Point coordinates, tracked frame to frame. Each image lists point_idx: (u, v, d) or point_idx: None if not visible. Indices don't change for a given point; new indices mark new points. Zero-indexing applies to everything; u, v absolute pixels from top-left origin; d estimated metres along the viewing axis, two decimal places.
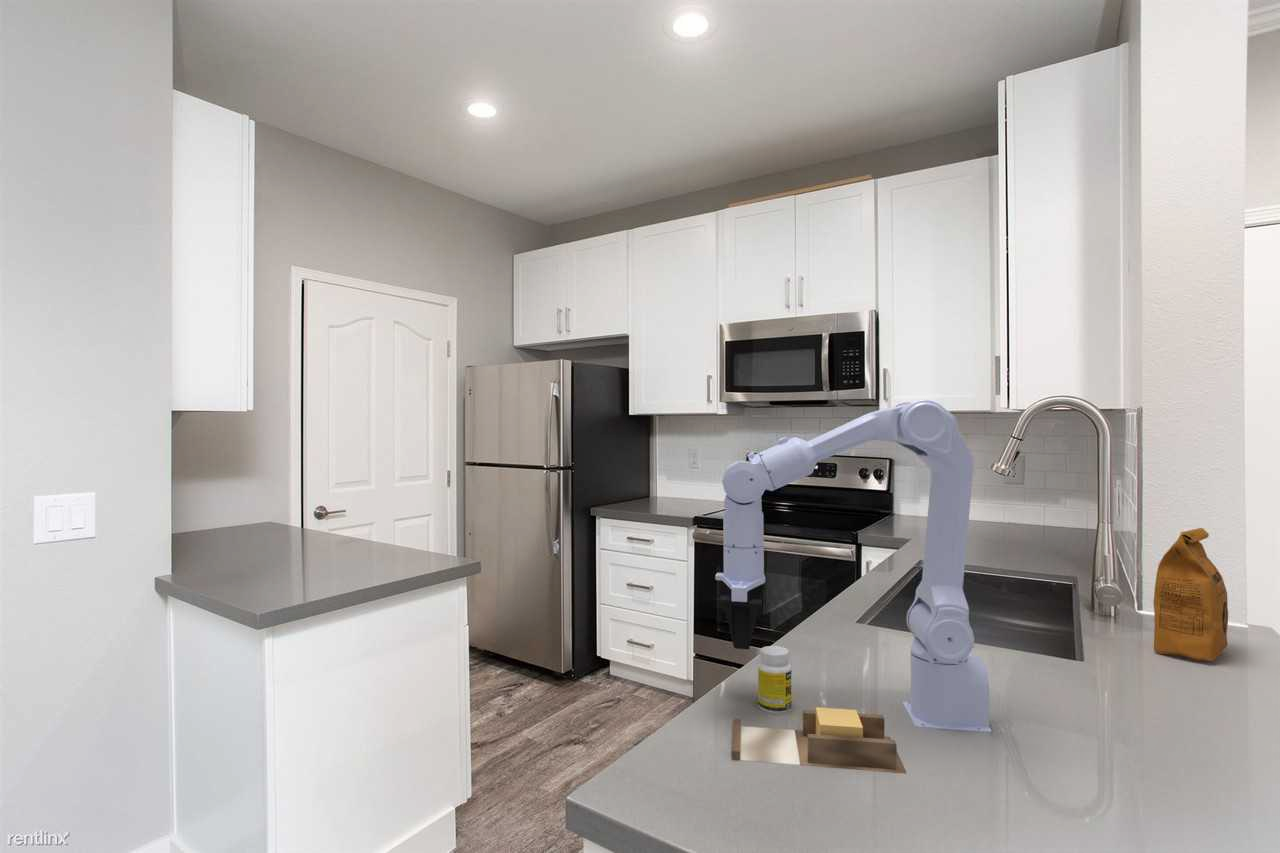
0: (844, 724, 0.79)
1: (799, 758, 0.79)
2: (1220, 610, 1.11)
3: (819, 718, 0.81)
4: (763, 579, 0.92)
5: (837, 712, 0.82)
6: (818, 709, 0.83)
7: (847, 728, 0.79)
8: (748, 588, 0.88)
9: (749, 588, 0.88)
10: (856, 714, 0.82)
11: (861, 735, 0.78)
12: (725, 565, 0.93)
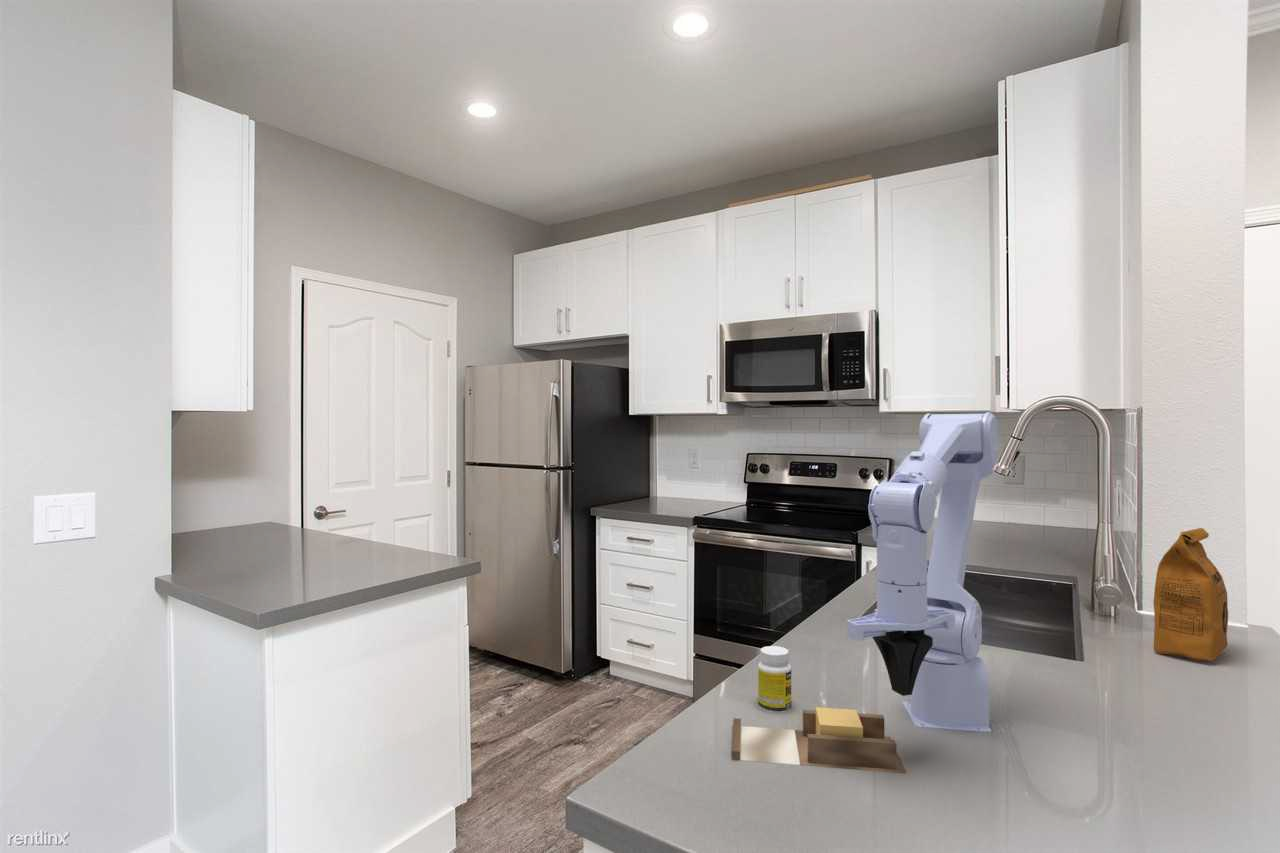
0: (844, 724, 0.79)
1: (799, 758, 0.79)
2: (1220, 610, 1.11)
3: (819, 718, 0.81)
4: (911, 625, 0.77)
5: (837, 712, 0.82)
6: (818, 709, 0.83)
7: (847, 728, 0.79)
8: (867, 627, 0.77)
9: (870, 628, 0.77)
10: (856, 714, 0.82)
11: (861, 735, 0.78)
12: None
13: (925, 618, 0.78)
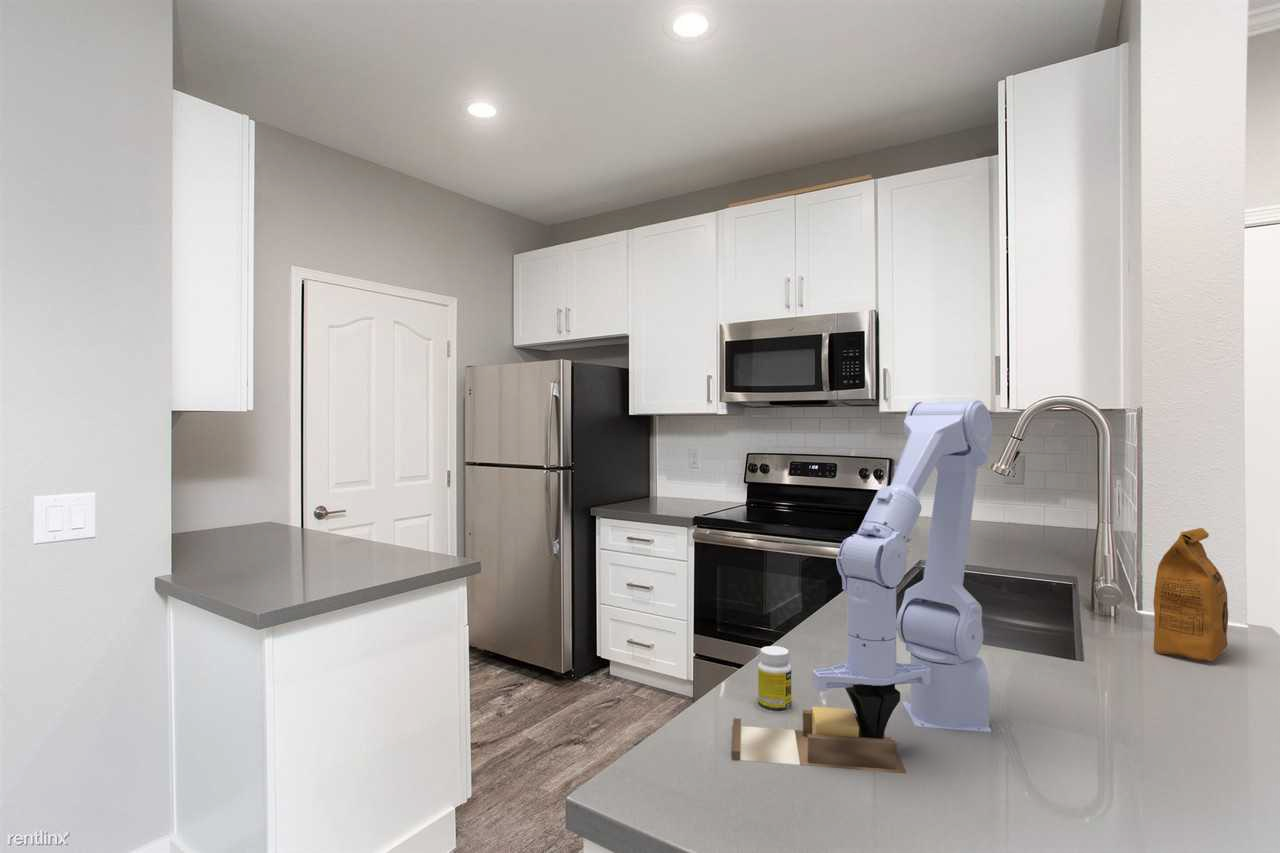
0: (840, 723, 0.79)
1: (799, 758, 0.79)
2: (1220, 610, 1.11)
3: (815, 717, 0.81)
4: (875, 680, 0.77)
5: (833, 711, 0.83)
6: (814, 709, 0.83)
7: (843, 727, 0.79)
8: (829, 679, 0.79)
9: (832, 679, 0.78)
10: (852, 713, 0.82)
11: (857, 734, 0.78)
12: None
13: (891, 673, 0.78)
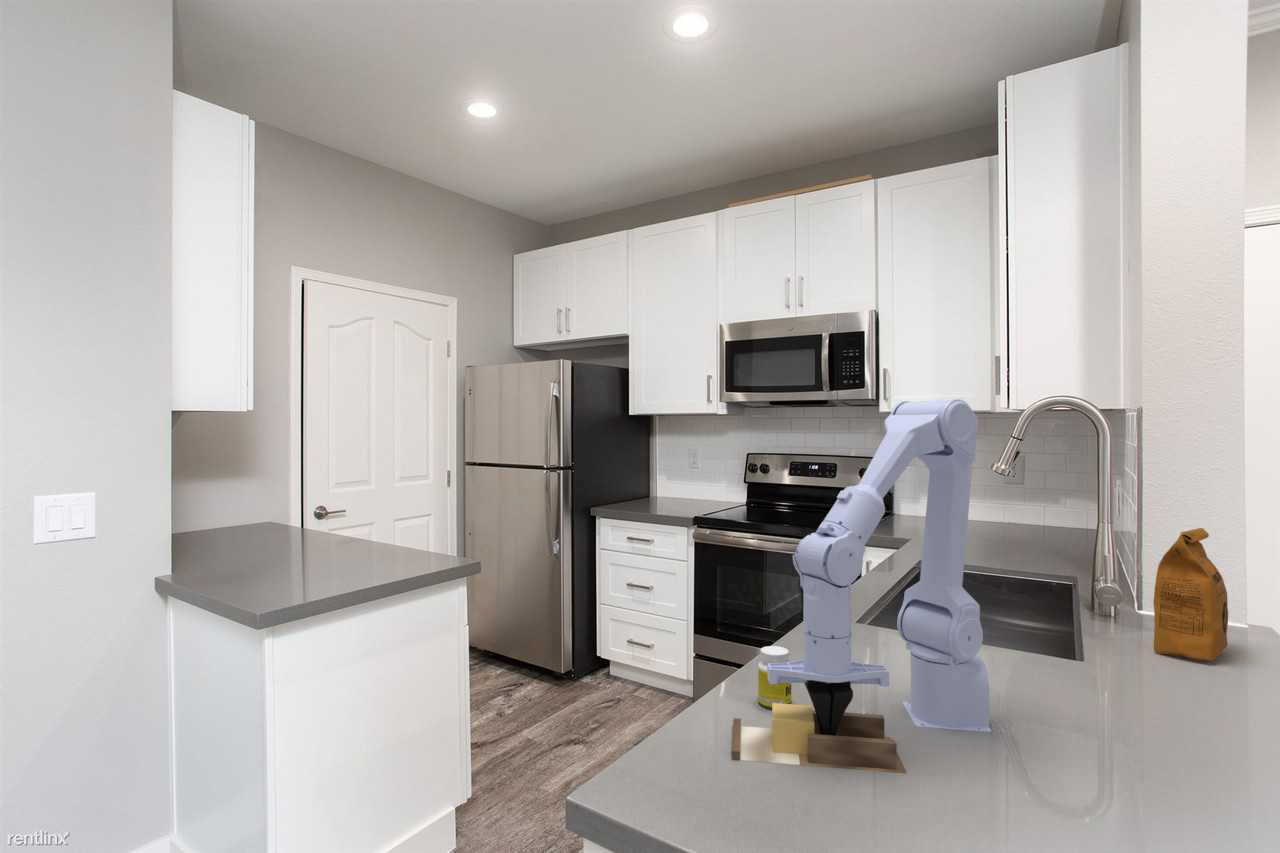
0: (797, 719, 0.81)
1: (799, 758, 0.79)
2: (1220, 610, 1.11)
3: (773, 713, 0.82)
4: (824, 677, 0.79)
5: (792, 708, 0.84)
6: (774, 705, 0.85)
7: (799, 723, 0.80)
8: (780, 672, 0.80)
9: (783, 674, 0.80)
10: (811, 710, 0.83)
11: (812, 730, 0.80)
12: None
13: (843, 672, 0.79)
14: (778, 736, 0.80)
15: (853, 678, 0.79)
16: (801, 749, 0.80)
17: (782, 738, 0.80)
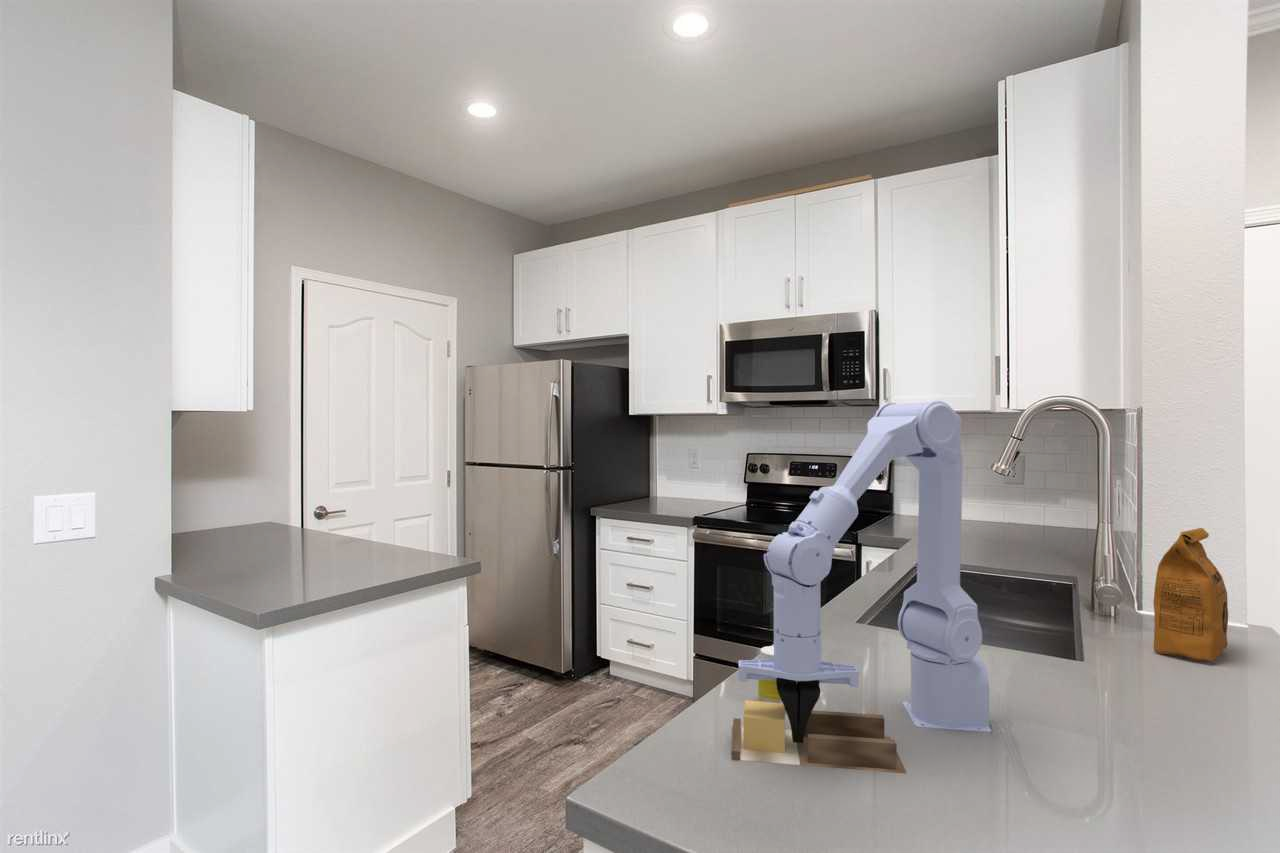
0: (768, 716, 0.81)
1: (799, 758, 0.79)
2: (1220, 610, 1.11)
3: (745, 710, 0.83)
4: (790, 675, 0.79)
5: (765, 705, 0.85)
6: (747, 702, 0.85)
7: (770, 720, 0.81)
8: (749, 669, 0.82)
9: (752, 670, 0.81)
10: (783, 707, 0.84)
11: (783, 727, 0.80)
12: None
13: (809, 670, 0.79)
14: (749, 733, 0.81)
15: (820, 677, 0.79)
16: (772, 746, 0.81)
17: (753, 735, 0.81)
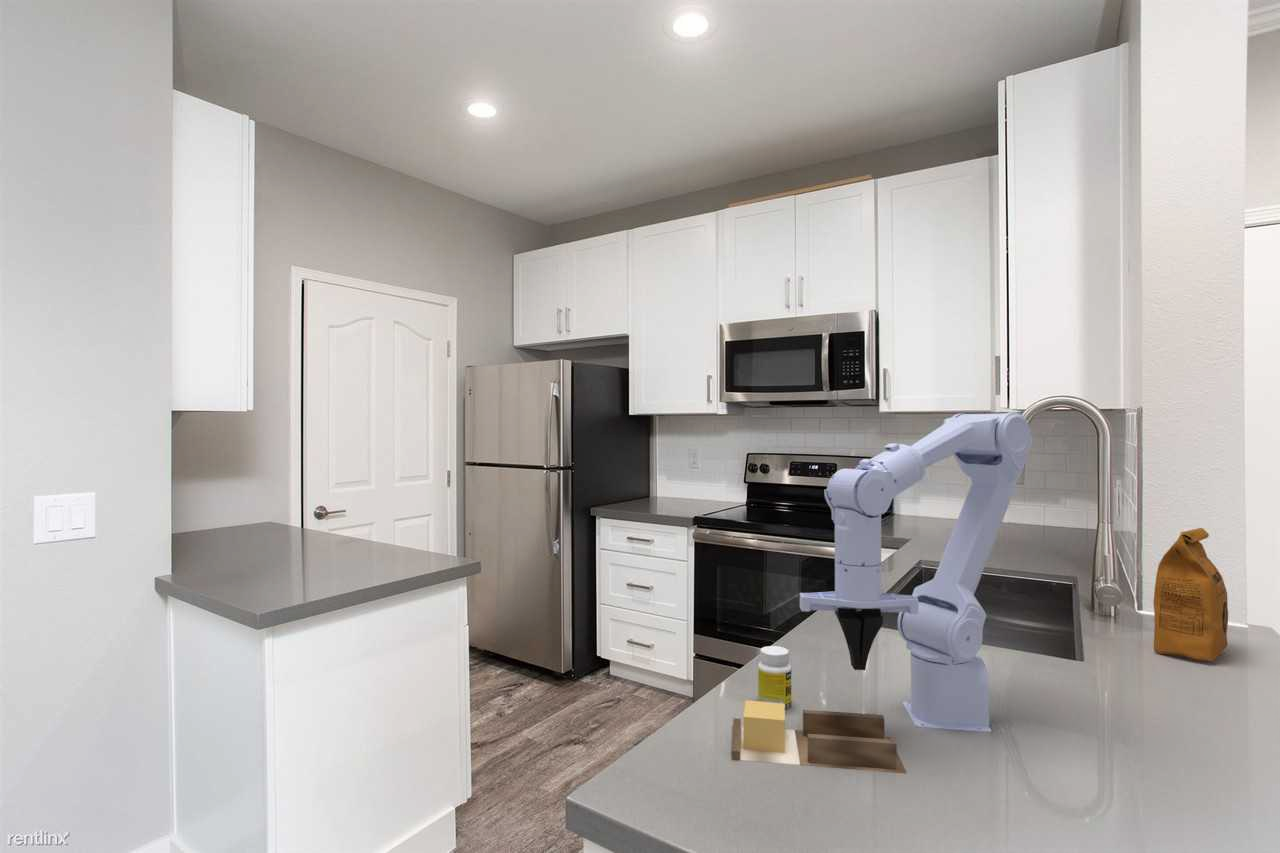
0: (768, 716, 0.81)
1: (799, 758, 0.79)
2: (1220, 610, 1.11)
3: (745, 710, 0.83)
4: (854, 603, 0.82)
5: (765, 705, 0.85)
6: (747, 702, 0.85)
7: (770, 720, 0.81)
8: (812, 600, 0.84)
9: (815, 601, 0.84)
10: (783, 707, 0.84)
11: (783, 727, 0.80)
12: None
13: (873, 598, 0.82)
14: (749, 733, 0.81)
15: (883, 605, 0.82)
16: (772, 746, 0.81)
17: (753, 735, 0.81)
